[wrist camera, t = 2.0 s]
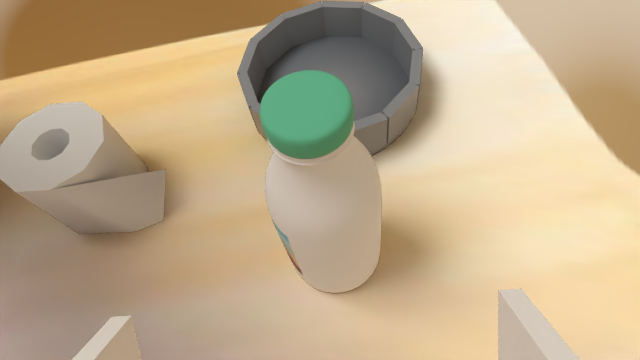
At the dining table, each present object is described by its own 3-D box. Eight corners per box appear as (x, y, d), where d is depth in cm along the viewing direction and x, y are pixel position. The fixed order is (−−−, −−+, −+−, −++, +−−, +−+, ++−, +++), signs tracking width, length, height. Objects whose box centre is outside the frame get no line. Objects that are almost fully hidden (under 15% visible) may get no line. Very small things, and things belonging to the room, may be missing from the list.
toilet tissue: (178, 229, 40) (134, 185, 33) (47, 235, 41) (-24, 194, 34) (193, 150, 45) (157, 95, 37) (74, 158, 46) (17, 106, 39)
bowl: (278, 189, 41) (267, 161, 37) (235, 66, 50) (222, 32, 46) (447, 128, 43) (456, 95, 38) (376, 19, 52) (376, -18, 47)
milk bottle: (391, 226, 38) (406, 60, 21) (363, 308, 35) (354, 191, 17) (312, 201, 40) (267, 32, 23) (278, 277, 37) (196, 145, 20)
